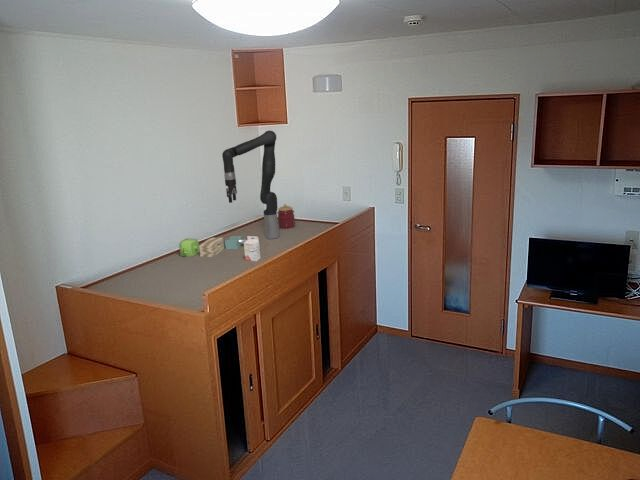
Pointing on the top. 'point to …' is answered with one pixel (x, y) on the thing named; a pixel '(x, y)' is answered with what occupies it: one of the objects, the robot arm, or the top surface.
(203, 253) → the beam
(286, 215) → the canister
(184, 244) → the green cube pot
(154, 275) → the top surface
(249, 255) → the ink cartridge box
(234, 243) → the v block
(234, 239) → the axle
